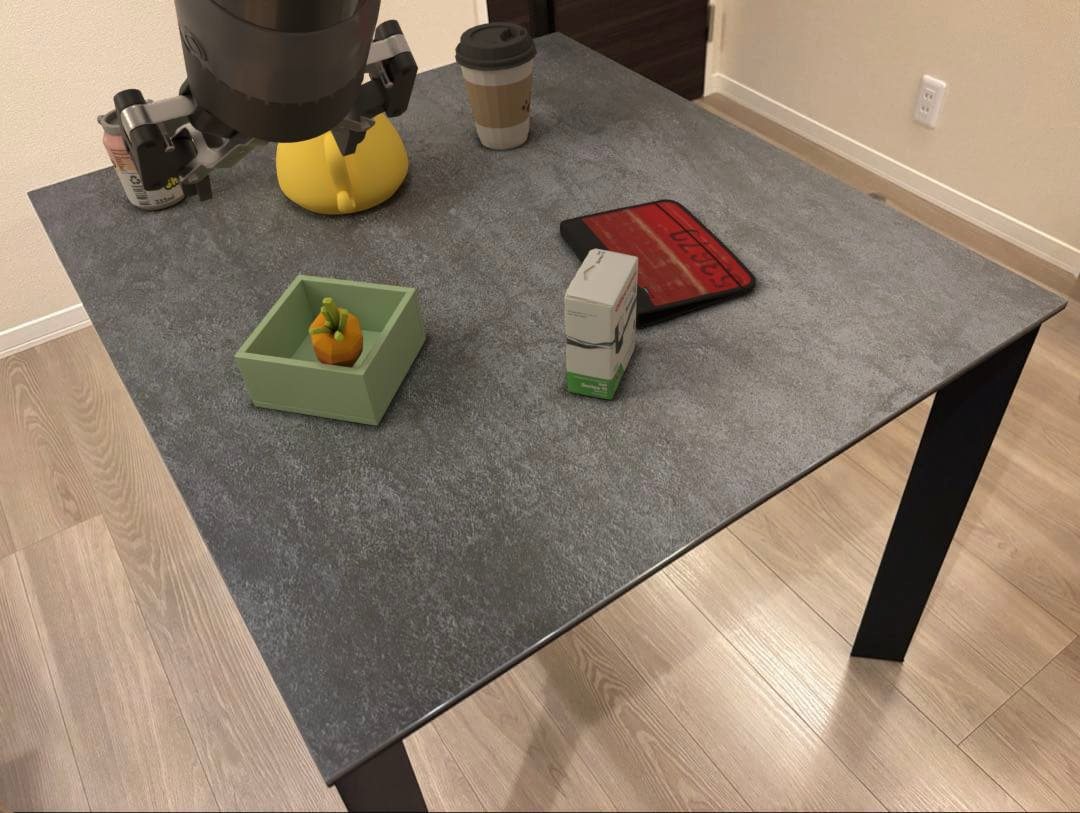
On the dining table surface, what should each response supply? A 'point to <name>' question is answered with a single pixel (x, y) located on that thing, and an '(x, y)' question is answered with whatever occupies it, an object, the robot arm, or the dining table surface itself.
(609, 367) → the ink box
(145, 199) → the beverage can
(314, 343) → the carrot
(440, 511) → the dining table surface
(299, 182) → the teapot
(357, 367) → the bin
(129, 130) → the robot arm
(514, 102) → the coffee cup
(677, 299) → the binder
